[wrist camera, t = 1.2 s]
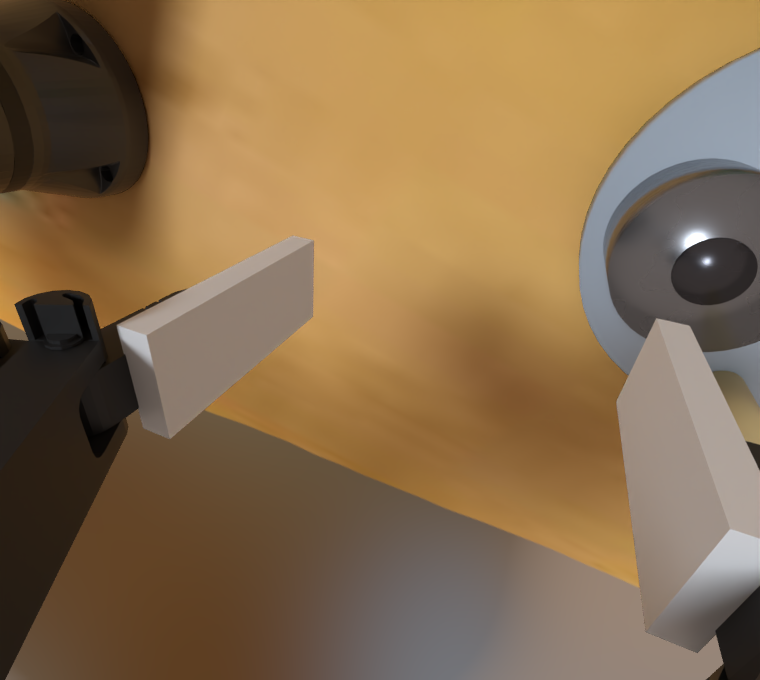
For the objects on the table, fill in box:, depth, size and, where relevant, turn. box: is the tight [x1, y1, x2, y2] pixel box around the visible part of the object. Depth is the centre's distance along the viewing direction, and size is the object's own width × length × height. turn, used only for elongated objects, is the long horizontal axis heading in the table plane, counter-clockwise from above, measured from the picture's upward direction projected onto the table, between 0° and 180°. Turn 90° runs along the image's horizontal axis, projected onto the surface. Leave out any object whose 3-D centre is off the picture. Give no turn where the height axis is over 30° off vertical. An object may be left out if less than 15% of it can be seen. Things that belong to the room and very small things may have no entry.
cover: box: [603, 158, 760, 352], centre depth 21 cm, size 8×8×5 cm
